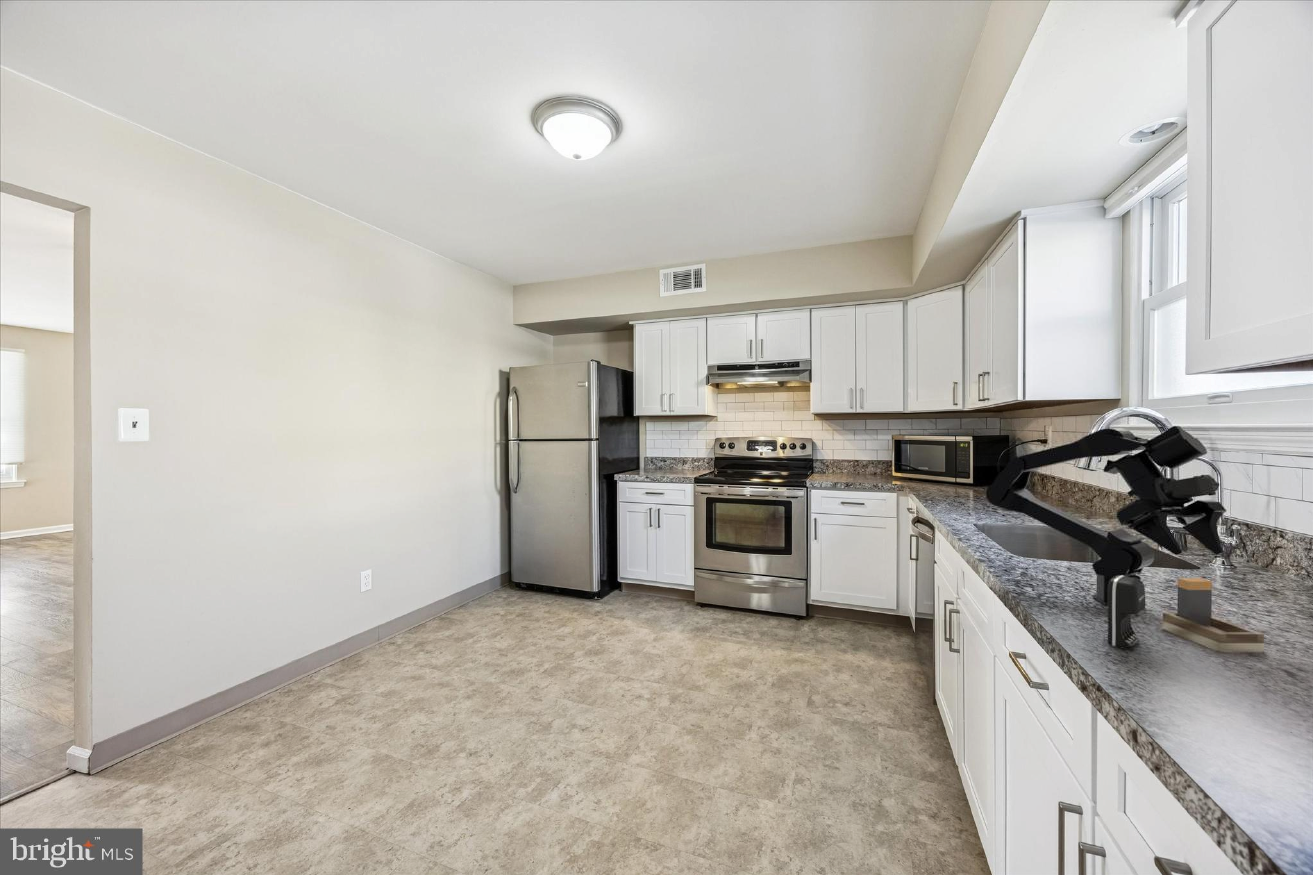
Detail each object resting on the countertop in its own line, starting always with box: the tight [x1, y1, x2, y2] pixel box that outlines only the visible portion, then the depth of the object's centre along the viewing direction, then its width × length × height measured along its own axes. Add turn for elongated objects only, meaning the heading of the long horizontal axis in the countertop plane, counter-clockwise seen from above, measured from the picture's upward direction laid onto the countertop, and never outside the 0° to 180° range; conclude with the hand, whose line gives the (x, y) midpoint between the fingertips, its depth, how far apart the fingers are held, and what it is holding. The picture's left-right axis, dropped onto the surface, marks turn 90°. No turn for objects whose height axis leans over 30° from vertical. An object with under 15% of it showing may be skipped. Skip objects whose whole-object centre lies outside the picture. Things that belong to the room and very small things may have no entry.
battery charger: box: [1107, 575, 1146, 650], centre depth 89 cm, size 7×4×11 cm, turn 126°
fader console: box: [1162, 612, 1265, 653], centre depth 91 cm, size 10×7×3 cm
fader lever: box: [1176, 577, 1213, 626], centre depth 93 cm, size 2×4×8 cm, turn 89°
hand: (1199, 553), depth 95 cm, fingers open, 9 cm apart
